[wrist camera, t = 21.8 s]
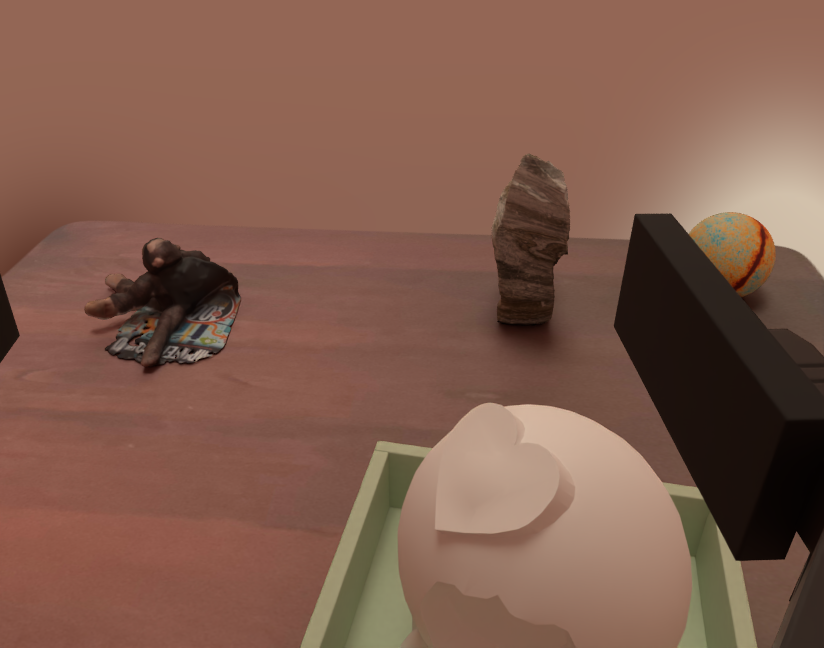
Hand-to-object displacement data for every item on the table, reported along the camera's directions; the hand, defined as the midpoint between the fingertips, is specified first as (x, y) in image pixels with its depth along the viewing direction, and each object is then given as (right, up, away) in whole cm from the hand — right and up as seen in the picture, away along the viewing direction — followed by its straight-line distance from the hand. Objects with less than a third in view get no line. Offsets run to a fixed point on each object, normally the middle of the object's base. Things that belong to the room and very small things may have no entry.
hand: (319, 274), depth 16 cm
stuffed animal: (-17, 0, +44) cm, 47 cm away
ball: (+27, +1, +47) cm, 55 cm away
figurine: (+7, -16, +18) cm, 25 cm away
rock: (+11, -1, +44) cm, 45 cm away
